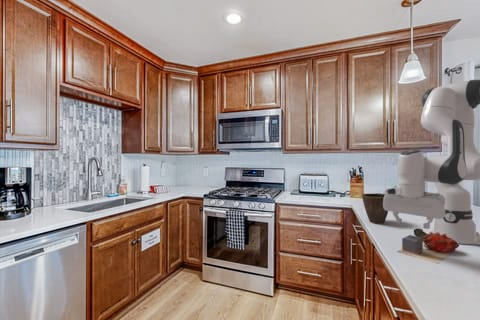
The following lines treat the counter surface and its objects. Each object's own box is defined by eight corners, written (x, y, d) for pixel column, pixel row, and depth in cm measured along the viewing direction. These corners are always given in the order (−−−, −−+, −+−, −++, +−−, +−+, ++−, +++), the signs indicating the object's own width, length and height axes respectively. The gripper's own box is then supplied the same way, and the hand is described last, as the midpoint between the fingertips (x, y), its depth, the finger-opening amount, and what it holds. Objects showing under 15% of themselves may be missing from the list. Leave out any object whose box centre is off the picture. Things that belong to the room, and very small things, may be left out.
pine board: (409, 248, 100) (409, 244, 100) (449, 259, 89) (449, 255, 89) (396, 255, 93) (396, 251, 93) (438, 267, 82) (438, 263, 82)
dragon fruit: (418, 252, 97) (455, 261, 93) (426, 247, 91) (466, 256, 86) (418, 233, 102) (453, 240, 97) (425, 226, 95) (463, 233, 90)
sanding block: (410, 246, 97) (409, 234, 97) (422, 250, 94) (422, 237, 94) (402, 250, 93) (402, 238, 93) (415, 254, 90) (415, 241, 90)
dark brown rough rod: (413, 235, 115) (413, 226, 115) (423, 236, 114) (423, 227, 114) (429, 250, 97) (428, 239, 97) (441, 251, 96) (440, 240, 96)
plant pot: (371, 226, 132) (370, 197, 132) (357, 219, 147) (357, 193, 147) (397, 225, 133) (397, 197, 132) (381, 218, 148) (380, 193, 147)
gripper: (447, 192, 87) (448, 230, 87) (387, 187, 104) (388, 219, 104) (441, 194, 83) (442, 233, 83) (380, 189, 100) (381, 221, 100)
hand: (412, 225), depth 94 cm, fingers open, 8 cm apart
